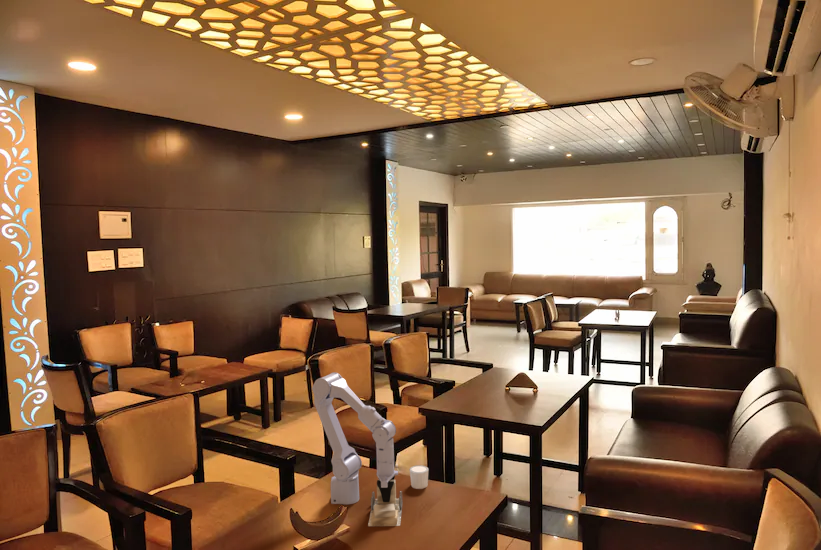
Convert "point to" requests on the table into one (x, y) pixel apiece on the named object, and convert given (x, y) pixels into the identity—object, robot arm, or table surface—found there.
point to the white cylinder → (419, 476)
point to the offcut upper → (384, 511)
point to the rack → (374, 502)
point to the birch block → (392, 497)
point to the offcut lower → (384, 519)
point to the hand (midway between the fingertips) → (386, 499)
